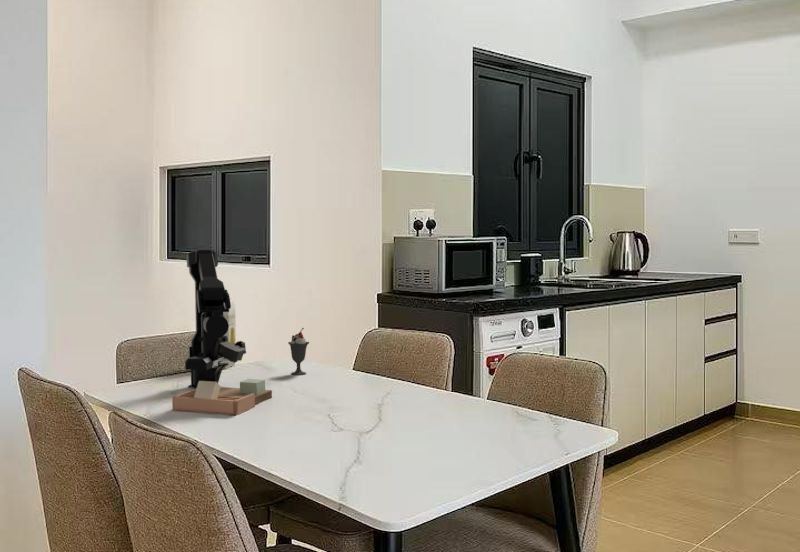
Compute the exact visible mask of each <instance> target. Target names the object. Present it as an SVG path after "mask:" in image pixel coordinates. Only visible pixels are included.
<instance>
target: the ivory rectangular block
mask: <svg viewBox="0 0 800 552" xmlns="http://www.w3.org/2000/svg"><path fill="white" fill-rule="evenodd" d="M220 387H222V386H221V385H220V384H219V382H218V383H217V382H211V381H199V382H198V385H197V388H195V390H196V392H195V395H194V398H206V399H217V398H218V394H219V391H220Z"/></svg>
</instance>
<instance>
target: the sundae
mask: <svg viewBox="0 0 800 552" xmlns="http://www.w3.org/2000/svg"><path fill="white" fill-rule="evenodd" d="M304 329H305V328H304V327H302V328H301V329H300V331H299V332H298V333H296V334H294V335H292V336H291V341H289V342H288V341H287V344H288V345H289V346H290V353H291V359H292V361H294V363H296V370H295V371H293V372H290V374H291V375H292V376H304V375H306V374H307V372H305V371H303V370H302V369H301V363H302V362H304V360H305V359H306V352H307V348H308V345H309V344H310V342H309V341H306V339H305V337H304V334H303V332H302V331H303V330H304Z"/></svg>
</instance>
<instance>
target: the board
mask: <svg viewBox="0 0 800 552" xmlns="http://www.w3.org/2000/svg"><path fill="white" fill-rule="evenodd" d="M247 395H249V394H246V393H240V387H227V386H221V387H220V391H219V394H218V398H233V399H240V398H242V397H245V396H247ZM272 395H273V390H272V389H265V391H263V392H261V393H259V394H255V406H257V405H258V404H260V403H263V402H265V401H268V400H269V399H271V398H273V396H272Z"/></svg>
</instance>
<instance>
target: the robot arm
mask: <svg viewBox="0 0 800 552" xmlns="http://www.w3.org/2000/svg"><path fill="white" fill-rule="evenodd" d="M218 255H219V254H218V252H216V251H215V249H211V248H198V249H195V251H190V252H188V253H187V255H186V267H187V268H188V272H189V275H190V276H191V278H192V280H193V281H194V298H195V299H194V301H195V307H194V308H195V332H194V334H193V336H192V338H191V340H190V346H188V349H187V359H186V360H185V361H184V369H185V370H190V384H189V385H187V387H188V388H192V389H193V388H195V389H197V385H198V382H199V381H211V382H217V383H218V384H219V382H220V378H221V374H222V371H223V370H224V368H225V367H226V366H228V365H229V363H224V361H223V359H225V358H226V359H228V360H229V361H231V362H235V363H237V362H239V361H240V362H241V361H242V360H243V356H244V355H245V354H247V350H246V342H245V341H243V340H238V341H236V344H234V343H230V342H228V337H227V336H224V335H225V334H226V333H227V331H228V328H229V324H228V321H227V320H226V319H225V318H224V316H223V312H229V309H230V308H231V304H230V299H231V298H230V293H229V292H228V290H227V289H226V288H225V285H224V282H223V281H222V280H221V279H219V278H218V274H217V269H216V268H217V267H218V265H219V256H218ZM224 303H225V306H224Z"/></svg>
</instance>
